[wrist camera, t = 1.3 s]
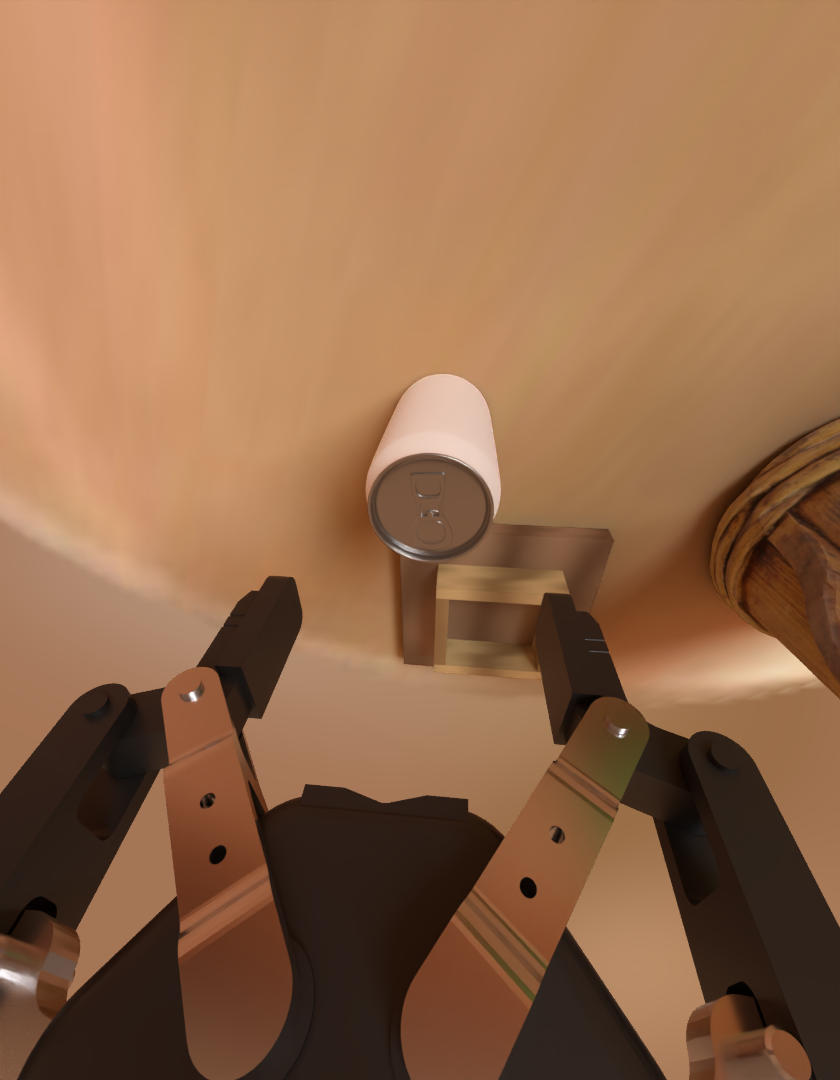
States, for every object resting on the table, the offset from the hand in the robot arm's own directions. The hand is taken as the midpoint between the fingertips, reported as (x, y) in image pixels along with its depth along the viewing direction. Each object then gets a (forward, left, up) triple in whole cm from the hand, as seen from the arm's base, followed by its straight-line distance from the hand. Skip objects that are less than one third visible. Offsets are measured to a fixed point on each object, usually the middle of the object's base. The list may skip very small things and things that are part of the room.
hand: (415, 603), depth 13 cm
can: (0, 0, -18) cm, 18 cm away
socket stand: (-5, +16, -18) cm, 24 cm away
